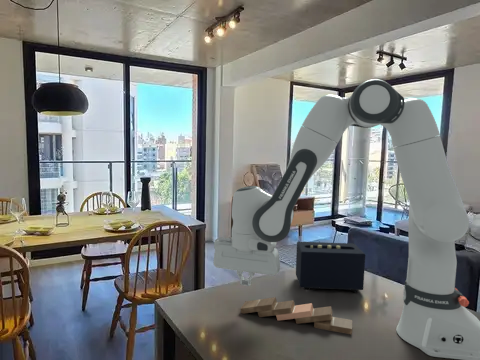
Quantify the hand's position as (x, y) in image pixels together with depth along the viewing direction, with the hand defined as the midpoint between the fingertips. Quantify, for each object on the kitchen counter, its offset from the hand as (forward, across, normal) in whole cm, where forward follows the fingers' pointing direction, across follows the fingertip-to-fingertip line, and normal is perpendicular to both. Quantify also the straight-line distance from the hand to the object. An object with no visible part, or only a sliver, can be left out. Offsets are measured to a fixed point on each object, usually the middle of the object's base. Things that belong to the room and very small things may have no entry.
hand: (245, 284), depth 104 cm
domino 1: (+7, -1, 0) cm, 7 cm away
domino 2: (+7, +5, 0) cm, 9 cm away
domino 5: (+8, +21, 0) cm, 22 cm away
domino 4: (+7, +16, 0) cm, 17 cm away
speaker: (+8, +22, +29) cm, 37 cm away
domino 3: (+7, +10, 0) cm, 13 cm away
